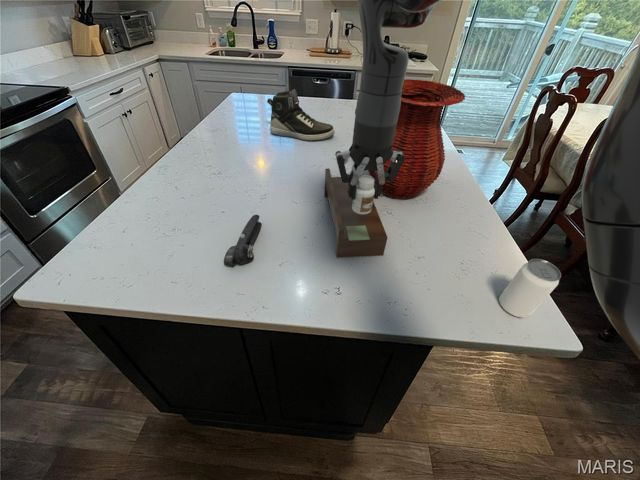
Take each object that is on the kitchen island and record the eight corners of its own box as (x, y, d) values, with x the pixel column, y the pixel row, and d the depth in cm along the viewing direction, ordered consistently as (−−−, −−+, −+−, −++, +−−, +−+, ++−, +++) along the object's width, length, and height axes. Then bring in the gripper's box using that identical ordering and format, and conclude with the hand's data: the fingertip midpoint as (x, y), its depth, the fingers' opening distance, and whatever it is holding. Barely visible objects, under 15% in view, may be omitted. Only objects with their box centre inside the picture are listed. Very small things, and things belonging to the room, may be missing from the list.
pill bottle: (363, 217, 64) (369, 187, 58) (347, 209, 66) (351, 178, 60) (375, 209, 66) (381, 178, 61) (359, 201, 68) (363, 171, 63)
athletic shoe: (274, 129, 132) (270, 85, 120) (335, 134, 128) (337, 89, 116) (266, 138, 124) (261, 91, 113) (331, 143, 120) (333, 96, 109)
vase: (358, 168, 106) (371, 76, 86) (422, 170, 107) (450, 79, 87) (366, 207, 89) (384, 103, 69) (443, 208, 90) (483, 106, 69)
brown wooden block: (383, 257, 74) (390, 229, 68) (336, 259, 73) (339, 231, 67) (361, 193, 95) (364, 167, 88) (324, 194, 94) (325, 168, 87)
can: (522, 294, 67) (552, 257, 58) (536, 319, 62) (571, 283, 54) (493, 293, 67) (519, 256, 58) (505, 318, 62) (536, 281, 54)
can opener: (249, 273, 69) (246, 256, 65) (221, 268, 69) (216, 251, 66) (271, 225, 82) (269, 209, 78) (247, 222, 82) (244, 205, 79)
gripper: (339, 125, 49) (333, 208, 60) (422, 125, 50) (400, 206, 62) (333, 109, 54) (328, 188, 66) (408, 109, 55) (391, 187, 67)
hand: (363, 196), depth 64 cm, fingers closed on pill bottle, 4 cm apart
